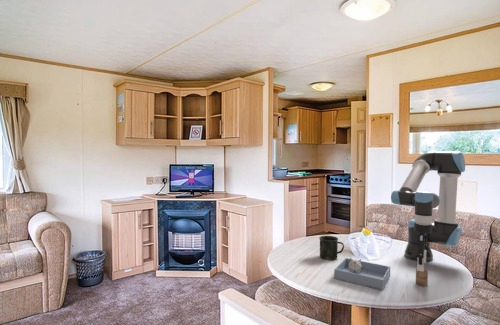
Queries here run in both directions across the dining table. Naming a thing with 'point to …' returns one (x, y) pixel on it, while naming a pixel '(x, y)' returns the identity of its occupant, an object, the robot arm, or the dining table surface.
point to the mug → (329, 247)
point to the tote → (364, 274)
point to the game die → (355, 266)
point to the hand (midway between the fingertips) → (421, 266)
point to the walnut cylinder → (421, 277)
